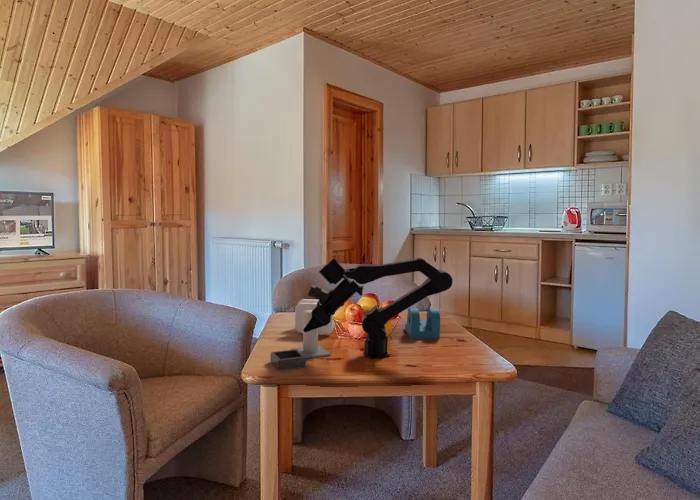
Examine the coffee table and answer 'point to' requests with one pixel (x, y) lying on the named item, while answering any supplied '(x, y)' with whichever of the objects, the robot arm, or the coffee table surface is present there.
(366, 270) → the robot arm
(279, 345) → the coffee table surface
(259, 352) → the coffee table surface
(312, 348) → the white plug
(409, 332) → the camera mount
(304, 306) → the cable organizer
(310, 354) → the slate mat
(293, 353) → the grey square tray
